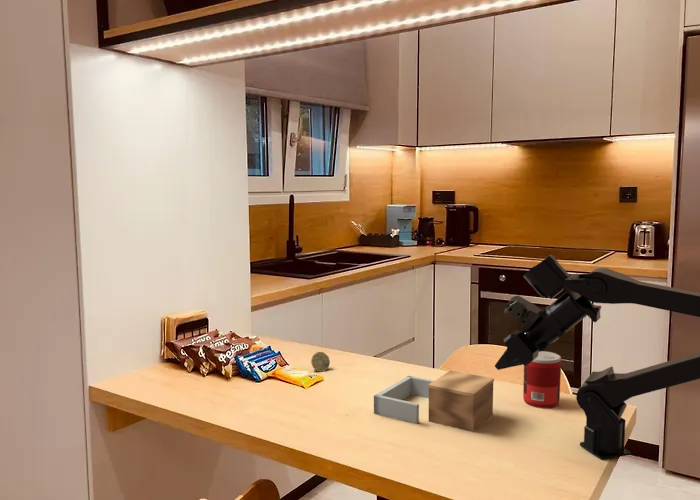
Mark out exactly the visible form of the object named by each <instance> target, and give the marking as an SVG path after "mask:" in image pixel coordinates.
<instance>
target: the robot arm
mask: <svg viewBox="0 0 700 500" xmlns="http://www.w3.org/2000/svg"><path fill="white" fill-rule="evenodd" d="M522 277H523V278H524V279H525V280H526V282H527V283H528V284H529V285H530V286H531V287H532V288H533V289H534V291H536V293H537V294H538V295H539V296H540V297H541V298H542V299H544V298H545V299H548V298H549V299H550V300H552V299H554V298H555V297H556V296H558V295H559V294H560V293H562V291H565V292H564V293H563V294H562V295H561V296H559V297H558V298H557V299H555V300H554V301H553V302H551V304H550V305H548V306H545V307H544V308H542V309H541V308H540V307H538V306H537V305H535V304H534V303H532V302H530V301H529V300H528V299H525V298H523V297H522V296H520V295H515V296H513V297H511V298H510V300H508V301H509V302H508V303H507V304H505V309H504V314H506V315H507V316H509V317H510V316H511V317H513V318H514V319H516V320H517V321H519V322H521V323H523V324H522V325H521V327H522V330H518V329H517V330H516V329H515V330H514V331H512V332H511V333H510V334H509V335H507V336H506V337H505V338H503V342H504V344H505V346H506V350H505V351H504V352H503V354H502V355H500V357H499V359H498V360H497V362H496V363H495V364H494V367H495V368H496V370H497V371H501V370H505V369H509V368H512V367H513V368H514V367H518V366H524V365H525V366H527V365H528V364H529V363H530V362H532V361H533V360H534V359H535V358H537V357H538V352H540V351H544V350H546V349H547V348H549V347H550V346H552V345H553V344H555V342H556V341H558V340H559V339H560V337H562V336H564V334H566V333H567V332H568V331H569V330H571V329H572V328H573V327H575V326H576V325H577V324H579V323H580V322H581V321H582V320H584V319H585V318H586V317H587V316H588V318H589V319H590V320H591V321H592V322H593V323H596V322H598V321H599V320H600V319H601V317H602V316H601V309H602V306H601V305H596V304H606V305H607V304H609V305H610V304H611V305H616V304H618V305H619V304H620V305H621V304H632V305H633V304H634V305H640V306H644V307H648V308H649V307H650V308H655V309H659V310H665V311H668V312H669V311H670V312H674V313H677V314H678V313H679V314H684V315H688V316H692V317H698V318H700V292H698V291H693V290H687V289H683V288H677V287H672V286H667V285H663V284H662V285H661V284H657V283H651V282H645V281H642V280H641V281H640V280H638V279H635V278H633V277H631V276H629V275H626V274H624V273H621V272H619V271H616V270H613V269H610V268H607V267H598V268H597V267H596V268H594V269H593V270H592V271H590V272H589V273H576V274H575V273H573V274H572V275H570V274H569V272H568V271H567V270H566V269H565V268H564V267H563V266H562V265H561V264H560V263H559V261H558V259H557V258H556V257H555V256H554V255H553V254H550V255H548V256H546V257H545V258H544V259H542V261H540V262H539V263H538V264H536V265H533V266H532V267H531V268H530V269H529V270H528V271H526V273H525V274H524V275H523V276H522ZM594 303H595V304H594ZM699 379H700V351H698V352H695V353H691V354H688V355H685V356H681V357H679V358H678V357H677V358H675V359H670V360H668V361H665V362H660V363H658V364H654V365H650V366H646V367H643V368H640V369H636V370H634V371H631V372H626V373H618V372H617V373H615V370H614V367H613V366H610V367H607V368H605V369H603V370H600V371H591V373H590V375H589V376H588V377H586V379H585V380H584V382H583V383H582V384H581V386H580V387H579V388H578V390H577V391H576V402H577V405H578V406H579V408H580V409H582V411H584V415H585V417H586V422H585V423H586V424H585V425H584V429H583V430H584V431H583V441H579V446H580V447H582V448H583V449H585V450H586V451H588V452H590V453H591V454H592V455H594V456H595V457H596V458H599V459H600V460H606V459H613V458H619V457H624V456H625V457H626V456H630V455H631V451H630V450H627V449H626V448H625V437H626V419H625V418H623V417H622V416H623V414H624V412H625V410H626V408H627V403H626V401H628V400H629V399H631V398H634V397H637V396H641V395H645V394H648V393H649V394H650V393H652V392H655V391H659V390H663V389H666V388H670V387H675V386H677V385H681V384H685V383H689V382H693V381H697V380H699Z"/></svg>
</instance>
